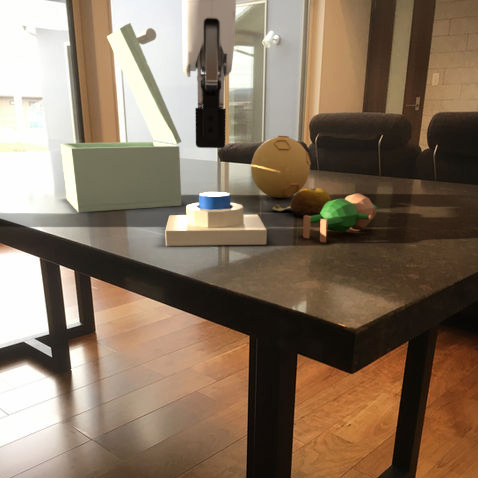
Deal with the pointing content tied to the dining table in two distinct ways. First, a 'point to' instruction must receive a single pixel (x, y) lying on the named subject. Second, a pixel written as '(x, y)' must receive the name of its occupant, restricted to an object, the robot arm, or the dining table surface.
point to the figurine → (342, 215)
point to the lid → (143, 81)
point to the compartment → (121, 175)
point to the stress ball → (280, 167)
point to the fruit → (307, 202)
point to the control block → (215, 227)
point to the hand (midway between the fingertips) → (210, 146)
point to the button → (214, 200)
